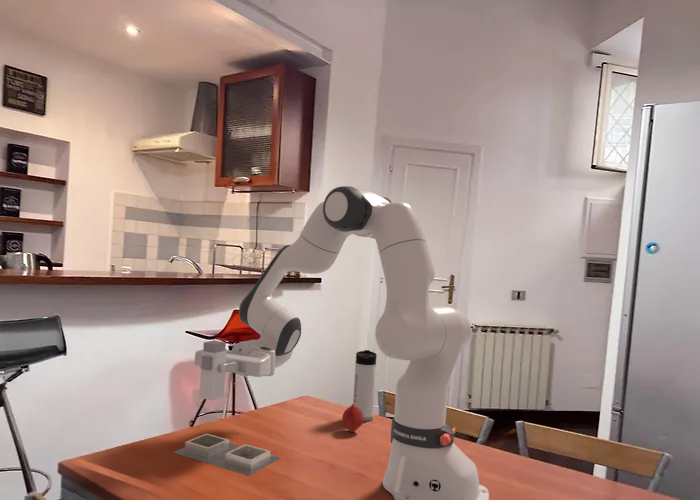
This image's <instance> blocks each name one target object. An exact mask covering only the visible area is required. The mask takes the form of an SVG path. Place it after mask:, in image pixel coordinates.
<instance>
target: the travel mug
mask: <svg viewBox="0 0 700 500" xmlns="http://www.w3.org/2000/svg"><path fill="white" fill-rule="evenodd" d="M377 357H378V356H377V353H376V352H373V351H371V350H369V349H364V350H362V351H361V350H360V351H357V352H356V353H355V368H354V383H353V399H352V404H353V403H355V404H356V407H358V408H359V409H360V410H361V412H362V414H363V422H371V421H372V420H373V418H374V408H375V407H374V405H375V404H374V403H375V389H376V388H375V387H376V376H377V375H376V373H377V372H376V371H377Z"/></svg>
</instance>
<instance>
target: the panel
mask: <svg viewBox="0 0 700 500" xmlns="http://www.w3.org/2000/svg"><path fill="white" fill-rule="evenodd" d="M271 452H272V451H271V450H269V449H264V448H261V447H257V446H253V445H250V444H247V443H246V444H242V445H241V446H240V445H236V444H232V443H230V439H229V438H224V437H220V436H217V435H213V434H210V433H203V434H202V435H199V436H196V437H194V438H192V439H188V440H187V441H185V442H184V447H182V448H180V449H177V450H174V451H172V453H173V454H176V455H180V456H182V457H187V458H189V459H192V460H196V461H199V462H202V463H206V464H209V465H212V466H216V467H218V468H222V469H226V470H228V471H232V472H235V473H239V474H241V475H245V476H248V477H249V476H251V475H253V474H255V473H257V472H258V471H260V470H262V469H265V468H267V466H270V465H271V464H273V463H276V462H277V461H279V460H280V459H281V457H279V456H277V455H273V454H271Z"/></svg>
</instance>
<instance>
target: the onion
mask: <svg viewBox="0 0 700 500" xmlns="http://www.w3.org/2000/svg"><path fill="white" fill-rule="evenodd" d="M342 424H343V425H344V427H345V428H346V429H347V430H348V431H349V432H351V433H354V432H355V431H357V430H358V429H359V428H361V427H362V425H363V424H364V421H363V414H362V412H361V410H360V409H359V408H358V407H356V404H355V403H353V402H352V405H350V406H349V407H347V408H346V409H345V410H344V412H343V414H342Z"/></svg>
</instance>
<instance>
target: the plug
mask: <svg viewBox="0 0 700 500" xmlns="http://www.w3.org/2000/svg"><path fill="white" fill-rule="evenodd" d="M226 344H227V342H225V341H219V340H210V341H204V342H203V349H202V350H203V351H202V359H201V368H200V377H199V395H198V398H200V399H204V400H208V401H215V400H216V401H217V400H218V399H221V398H224V396H225V384H226V383H225V380H226V372H224V373H222V372H218V371H217V369H218V365H219V364H222V363H224V364H226V352H227V351H225V350H226Z"/></svg>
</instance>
